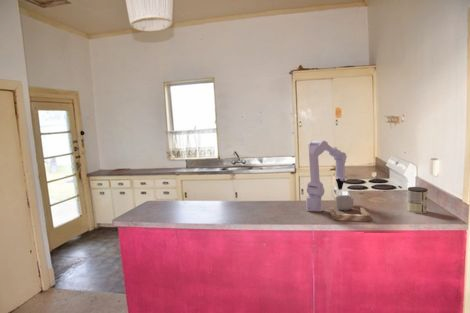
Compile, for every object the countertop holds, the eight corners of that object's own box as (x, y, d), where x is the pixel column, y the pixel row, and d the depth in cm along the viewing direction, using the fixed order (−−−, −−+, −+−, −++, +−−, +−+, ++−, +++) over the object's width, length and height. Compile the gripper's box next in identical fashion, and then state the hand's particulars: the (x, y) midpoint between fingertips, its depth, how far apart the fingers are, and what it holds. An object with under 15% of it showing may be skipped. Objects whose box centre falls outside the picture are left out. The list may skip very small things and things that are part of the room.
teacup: (354, 212, 192) (354, 199, 192) (336, 211, 195) (336, 198, 194) (351, 206, 206) (351, 194, 205) (333, 205, 208) (333, 193, 207)
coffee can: (407, 208, 197) (407, 186, 196) (426, 210, 193) (426, 187, 191) (407, 212, 188) (407, 189, 187) (427, 214, 184) (428, 190, 182)
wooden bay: (333, 220, 177) (333, 215, 177) (329, 211, 194) (329, 207, 194) (370, 221, 174) (370, 215, 174) (363, 212, 191) (363, 207, 190)
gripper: (348, 171, 205) (348, 191, 206) (344, 168, 219) (344, 187, 220) (337, 171, 206) (337, 191, 207) (333, 168, 220) (333, 187, 222)
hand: (340, 189), depth 214 cm, fingers closed
